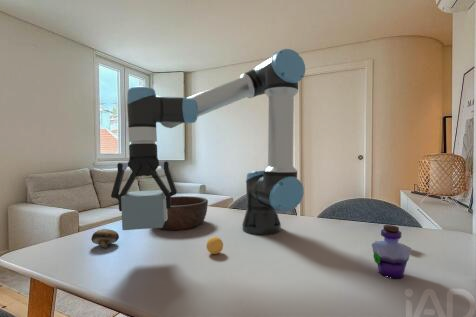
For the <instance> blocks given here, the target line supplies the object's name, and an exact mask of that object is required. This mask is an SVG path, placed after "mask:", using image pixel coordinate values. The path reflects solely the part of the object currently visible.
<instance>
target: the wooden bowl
mask: <svg viewBox="0 0 476 317" xmlns="http://www.w3.org/2000/svg"><path fill="white" fill-rule="evenodd" d="M208 204H209V200H208V199H207V198H205V197H202V196H189V195H187V196H184V195H177V196H176V195H175V196H171V207H170V208H168V209H167V216H168V219H167V221H165V223H164V225H163V227H162V228H158V229H159V230H163V231H183V230H184V231H185V230H190V229H194V228H197V227H200V226H201V225H202V224H203V223H204V220H205V219H206V216H207V212H208V206H209V205H208Z"/></svg>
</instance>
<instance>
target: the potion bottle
mask: <svg viewBox="0 0 476 317" xmlns="http://www.w3.org/2000/svg"><path fill="white" fill-rule="evenodd" d="M383 228H384V229H383ZM383 228H381V230H380V235H381V237H383V238H384V239H383V240H377V241H374V242H373V243H371V247H372V248H371V249H372V252H373V259H374V263H376V265H377V268H378V274H379V275H381V276H382V277H384V278H387V279H392V280H403V279H404V277H405V270H406V267H407V263H408V261H409V260H410V257H411V252H412V248H411V247H409V246H407V245H406V244H405V243H401V242H399V241H398V239H399V240H400V239H401V238H402V231H400V227H399V226H396V225H393V224H384V225H383ZM385 276H388V277H385ZM390 277H391V278H390ZM397 278H398V279H397Z"/></svg>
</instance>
